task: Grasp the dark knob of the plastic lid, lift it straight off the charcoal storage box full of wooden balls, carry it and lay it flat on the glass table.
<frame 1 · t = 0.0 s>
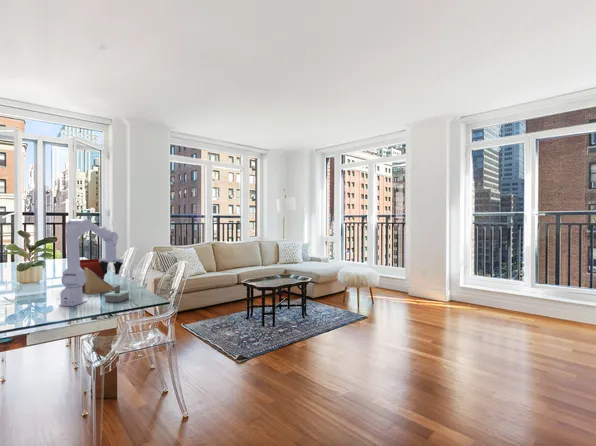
hand: (111, 274, 199), 10 cm above the table, fingers open, 7 cm apart
box: (117, 300, 178), on the table
plant pot: (89, 287, 209), on the table
lid: (117, 293, 178), point 3 cm above the table, touching box
sandwich container: (101, 291, 200), on the table
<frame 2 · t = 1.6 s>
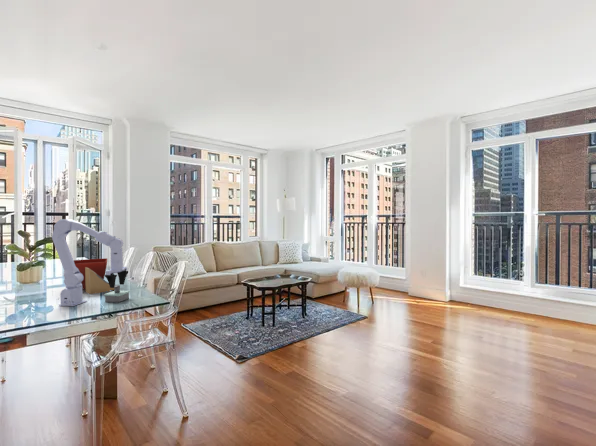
hand: (117, 286, 178), 8 cm above the table, fingers open, 7 cm apart
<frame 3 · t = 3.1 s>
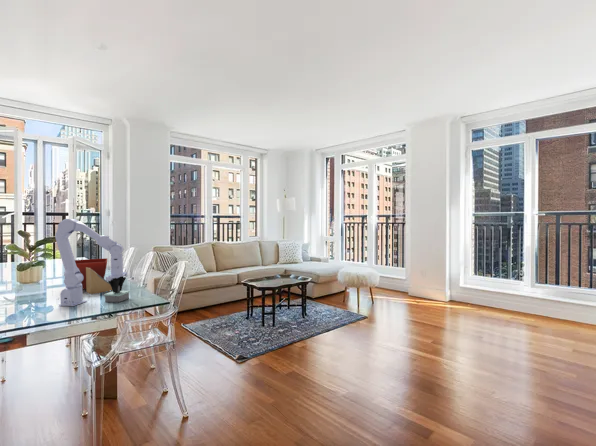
hand: (117, 291, 178), 5 cm above the table, fingers closed on lid, 3 cm apart
lid: (117, 293, 178), point 3 cm above the table, touching box, gripper
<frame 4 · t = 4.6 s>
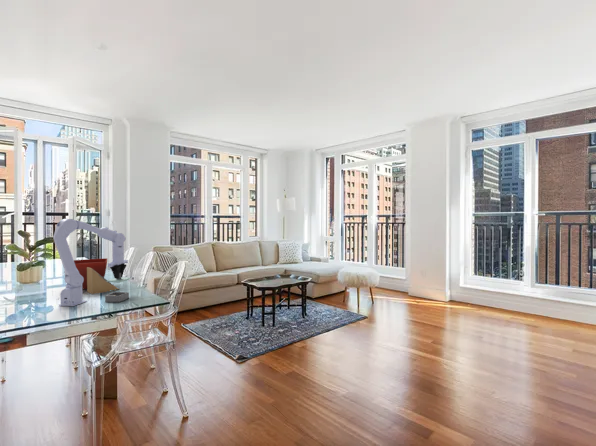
hand: (118, 277, 188), 10 cm above the table, fingers closed on lid, 3 cm apart
lid: (118, 280, 188), point 9 cm above the table, touching gripper
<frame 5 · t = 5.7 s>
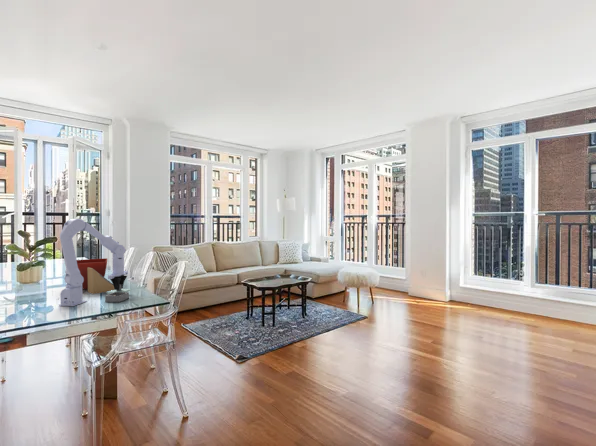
hand: (118, 289, 188), 4 cm above the table, fingers closed on lid, 3 cm apart
lid: (118, 291, 188), point 2 cm above the table, touching gripper
when the fingers open (3 cm above the table, at t = 6.5 s): lid drops 1 cm, on the table.
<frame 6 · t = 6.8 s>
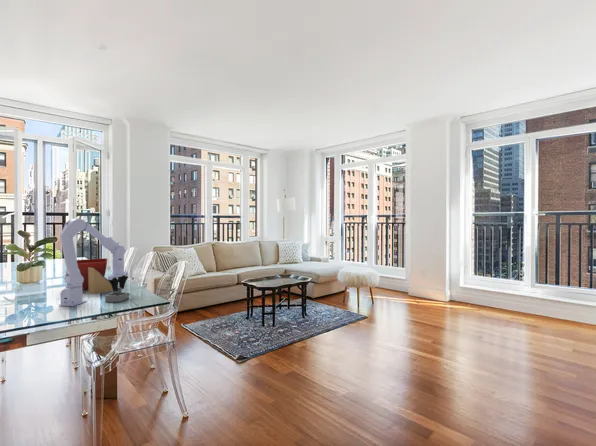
hand: (118, 290, 188), 3 cm above the table, fingers open, 5 cm apart
lid: (118, 295, 188), on the table
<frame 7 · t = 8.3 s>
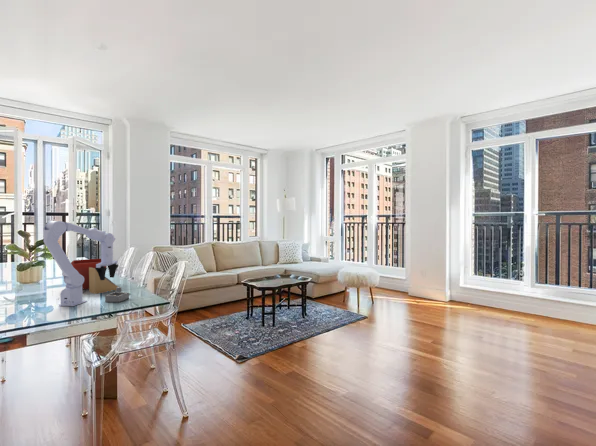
hand: (107, 278, 185), 10 cm above the table, fingers open, 7 cm apart
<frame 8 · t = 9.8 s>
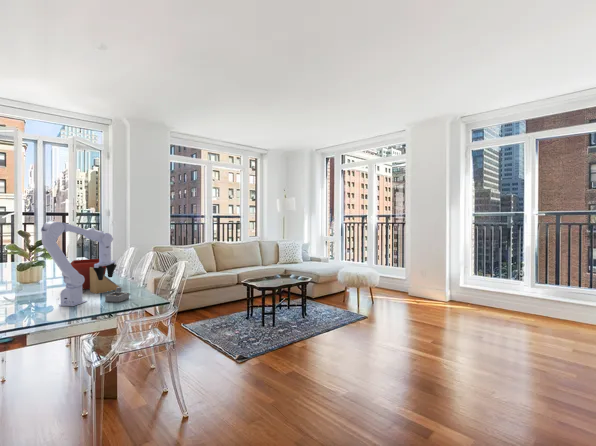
hand: (105, 278, 185), 10 cm above the table, fingers open, 7 cm apart
at the end: lid inside the target area (0.2 cm from its centre), on the table; lid tilted 0°; lid touching table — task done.
